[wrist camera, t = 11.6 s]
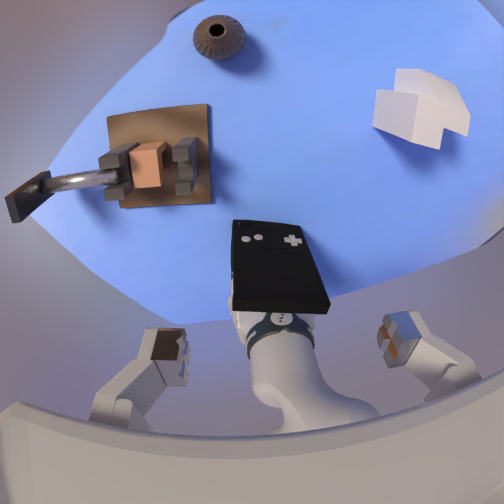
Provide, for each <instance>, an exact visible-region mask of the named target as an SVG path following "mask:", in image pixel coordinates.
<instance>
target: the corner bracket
mask: <svg viewBox="0 0 504 504" xmlns="http://www.w3.org/2000/svg"><path fill="white" fill-rule="evenodd" d="M469 123H470V114H469V112H468V110H467V107H466V105H465V103H464V101H463V99H462V97H461V95H460V93H459V92H458V90H457V88H456V86H455V84H453V83H451V82H449V81H447V80H445V79H442V78H440V77H438V76H436V75H433V74H431V73H429V72H426V71H424V70H421V69H396V76H395V86H394V91H391V90H382V89H377V93H376V102H375V110H374V117H373V125H372V126H373V127H375V128H378V129H381V130H383V131H386V132H388V133H391V134H393V135H395V136H398V137H400V138H402V139H405V140H407V141H409V142H412V143H416V144H420V145H424V146H427V147H431V148H435V149H438V150H440V145H441V139H442V134H443V128H446V129H448V130H451V131H454V132H457V133H459V134H462V135H464V136H467V134H468V129H469Z"/></svg>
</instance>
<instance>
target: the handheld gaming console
mask: <svg viewBox="0 0 504 504" xmlns="http://www.w3.org/2000/svg"><path fill="white" fill-rule="evenodd" d="M231 298H232V311H241V312H246V311H247V312H266V313H293V314H327V312H328V310H329V307H330V305H331V304H330V301H329V298H328V296H327V293H326V290H325V288H324V285H323V282H322V280H321V277H320V275H319V272H318V270H317V267H316V265H315V262H314V260H313V257H312V255H311V252H310V250H309V247H308V245H307V242H306V240H305V238H304V235H303V233H302V231H301V228H300V226H296V225H290V224H284V223H275V222H264V221H254V220H233V224H232V239H231Z"/></svg>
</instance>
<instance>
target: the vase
mask: <svg viewBox="0 0 504 504" xmlns="http://www.w3.org/2000/svg"><path fill="white" fill-rule="evenodd" d="M244 42H245V31H244V28H243V27H242V25H241V24H240V23H239V22H238V21H237V20H236V19H234V18H232V17H230V16H226V15H214V16H210V17H208V18H206V19H204V20H203V21H202V22H200V23H199V24H198V26H197V27H196V29H195V31H194V34H193V43H194V46H195V48H196V50H197V51H198V52H199V53H200V54H201V55H202V56H204V57H206V58H208V59H211V60H225V59H228V58H231V57H233V56H234V55H236V54H237V53H238V52H239V51H240V50H241V49H242V47H243V45H244Z"/></svg>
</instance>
